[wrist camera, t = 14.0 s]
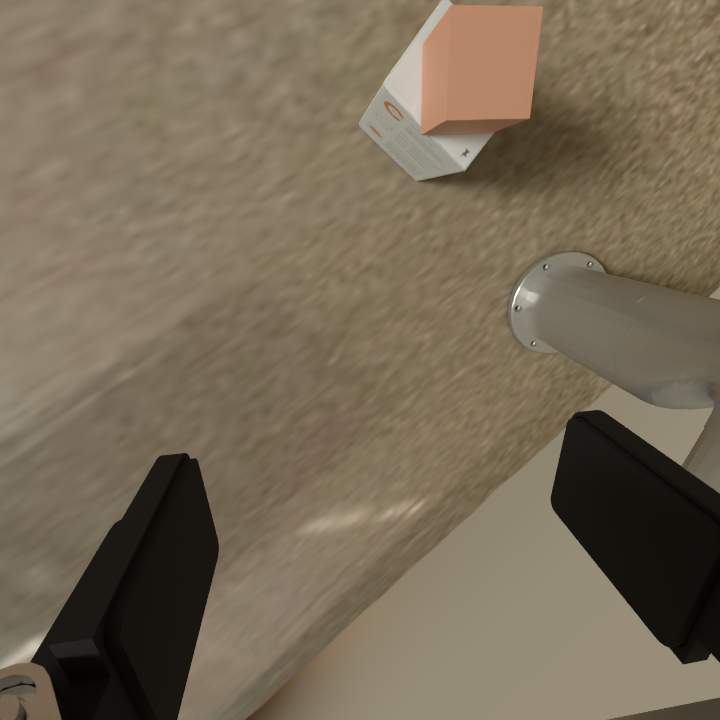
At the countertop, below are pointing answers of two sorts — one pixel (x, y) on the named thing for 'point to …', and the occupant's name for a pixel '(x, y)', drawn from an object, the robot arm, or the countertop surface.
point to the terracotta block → (479, 69)
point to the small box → (416, 118)
